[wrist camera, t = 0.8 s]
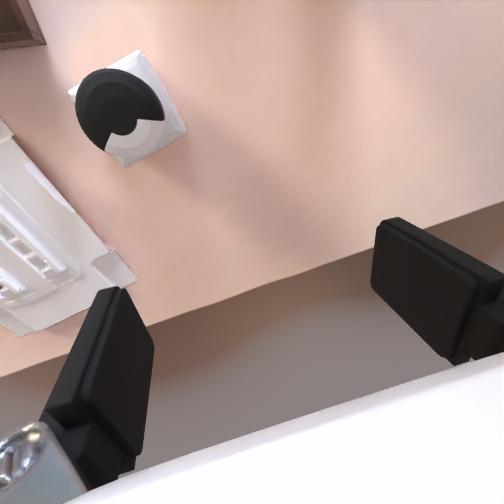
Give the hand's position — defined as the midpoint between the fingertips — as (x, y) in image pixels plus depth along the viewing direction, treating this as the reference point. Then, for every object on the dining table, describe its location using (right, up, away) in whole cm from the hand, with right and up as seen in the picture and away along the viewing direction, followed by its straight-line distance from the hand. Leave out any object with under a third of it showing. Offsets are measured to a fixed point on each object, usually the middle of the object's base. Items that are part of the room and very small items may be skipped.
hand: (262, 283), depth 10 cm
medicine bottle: (-13, +17, +20) cm, 29 cm away
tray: (-32, +3, +23) cm, 39 cm away
